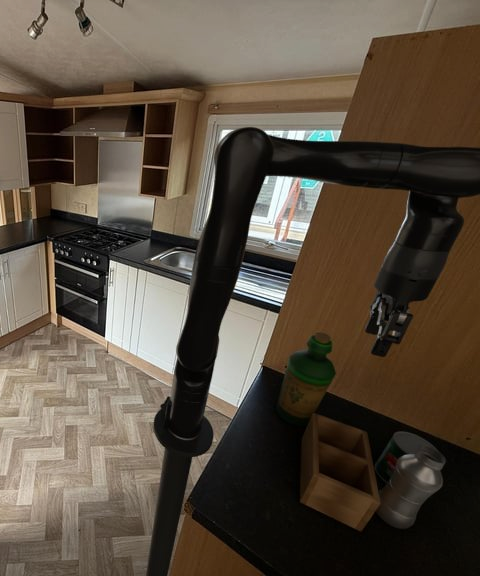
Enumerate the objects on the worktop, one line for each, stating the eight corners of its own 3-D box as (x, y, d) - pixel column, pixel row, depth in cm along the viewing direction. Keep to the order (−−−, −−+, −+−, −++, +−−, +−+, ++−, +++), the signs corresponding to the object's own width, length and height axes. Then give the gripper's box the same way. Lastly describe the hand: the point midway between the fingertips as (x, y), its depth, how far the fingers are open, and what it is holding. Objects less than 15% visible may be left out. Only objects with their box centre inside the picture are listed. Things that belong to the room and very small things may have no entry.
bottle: (278, 427, 88) (309, 346, 75) (267, 398, 97) (292, 322, 85) (320, 433, 86) (358, 351, 73) (304, 403, 95) (335, 326, 83)
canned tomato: (379, 484, 73) (399, 453, 68) (370, 456, 80) (388, 426, 75) (423, 499, 70) (448, 468, 65) (410, 469, 76) (432, 439, 72)
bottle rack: (299, 502, 70) (313, 474, 65) (301, 439, 84) (312, 412, 80) (361, 532, 64) (380, 503, 60) (351, 459, 79) (367, 431, 74)
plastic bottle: (382, 530, 65) (428, 469, 56) (362, 497, 71) (400, 436, 62) (417, 535, 64) (469, 474, 55) (393, 501, 70) (436, 440, 61)
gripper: (376, 254, 63) (347, 322, 70) (390, 278, 52) (354, 356, 59) (426, 261, 59) (390, 332, 66) (452, 289, 48) (406, 370, 56)
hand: (373, 343), depth 63 cm, fingers open, 8 cm apart
